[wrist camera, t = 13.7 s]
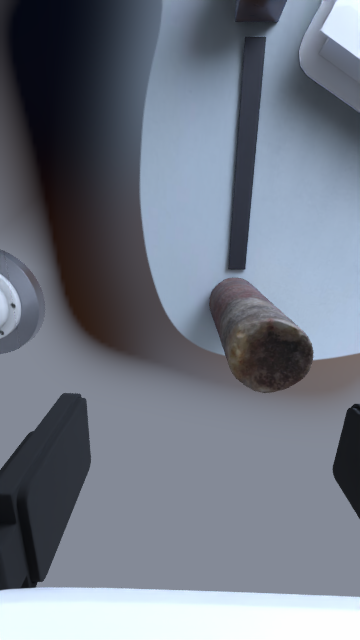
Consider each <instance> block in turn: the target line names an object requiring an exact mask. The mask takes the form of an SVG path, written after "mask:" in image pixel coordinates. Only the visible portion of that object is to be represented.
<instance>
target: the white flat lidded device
mask: <svg viewBox="0 0 360 640" xmlns="http://www.w3.org/2000/svg"><path fill="white" fill-rule="evenodd" d="M299 58H300V66H301V68H302V69H303V71H304V72H305V74H306V75H307V76H308V77H310V78H311V79H312V80H314V81H315V82H317V83H318V84H319V85H321V86H322V87H324V88H325V89H327V90H328V91H329V92H331V93H332V94H334V95H335V96H336V97H338V98H339V99H341V100H342V101H343V102H345V103H346V104H348V105H349V106H350V107H352V108H353V109H355V110H356V111H358V112H359V113H360V0H323V1H322V3H321V5H320V7H319V9H318V11H317V12H316V14H315V16H314V18H313V20H312V22H311V23H310V25H309V27H308V29H307V31H306V32H305V34H304V37H303V40H302V43H301V46H300V49H299Z"/></svg>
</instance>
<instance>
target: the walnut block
mask: <svg viewBox="0 0 360 640" xmlns="http://www.w3.org/2000/svg"><path fill="white" fill-rule="evenodd" d="M286 2H287V0H236V14H235V22H278V21H279V18H280V16H281V13H282V11H283V9H284V6H285V4H286Z"/></svg>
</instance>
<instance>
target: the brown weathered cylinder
mask: <svg viewBox="0 0 360 640" xmlns="http://www.w3.org/2000/svg"><path fill="white" fill-rule="evenodd" d="M209 306H210V311H211V314H212V317H213V320H214V322H215V325H216V328H217V331H218V334H219V337H220V340H221V343H222V347H223V349H224V352H225V355H226V358H227V361H228V364H229V367H230V369H231V372H232V373H233V375H234V376H235V377H236V379H238V380H239V381H240V382H242V383H243V384H244V385H245V386H247V387H249V388H251V389H252V390H254V391H258V392H262V393H269V392H275V391H279V390H283V389H286V388H289V387H290V386H292V385H294V384H296V383H297V382H299V381H300V380H301V379H303V378H304V377H305V376H306V375H307V373H308V372H309V370H310V368H311V364H312V360H313V348H312V343H311V342H310V340H309V338H308V336H307V335H306V333H305V332H304V331H303V330H301V329H300V328H299V327H298V326H297V325H296V324H295V323H294V322H293V321H292V320H290V319H289V318H288V317H287V316H286V315H284V314H283V313H282V312H281V311H280V310H279V309H278V308H277V307H275V306H274V305H273V304H272V303H271V302H270V301H269V300H268V299H267V298H266V297H264V296H263V295H262V294H261V293H260V292H259V291H258V290H257V289H256V288H255V287H254V286H252V285H251V284H250V283H249V282H248V281H246V280H244V279H241V278H228V279H225V280H223V281H222V282H221V283H219V284H218V285H217V286H216V287H215V288H214V289H213V291H212V293H211V296H210V302H209Z"/></svg>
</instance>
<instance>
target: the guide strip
mask: <svg viewBox="0 0 360 640" xmlns="http://www.w3.org/2000/svg"><path fill="white" fill-rule="evenodd" d="M265 42H266V37H245V45H244V59H243V73H242V87H241V101H240V115H239V128H238V142H237V156H236V170H235V184H234V198H233V212H232V225H231V239H230V253H229V267H228V269H245V264H246V253H247V242H248V231H249V219H250V208H251V197H252V186H253V175H254V164H255V153H256V142H257V131H258V120H259V109H260V98H261V86H262V75H263V64H264V53H265Z"/></svg>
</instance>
